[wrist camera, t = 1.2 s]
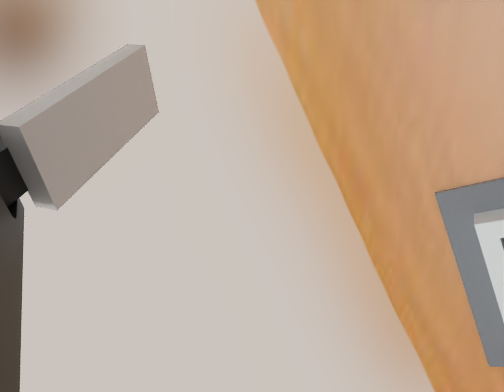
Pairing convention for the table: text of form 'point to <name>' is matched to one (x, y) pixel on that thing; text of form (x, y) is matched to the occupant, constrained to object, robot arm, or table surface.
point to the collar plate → (480, 255)
